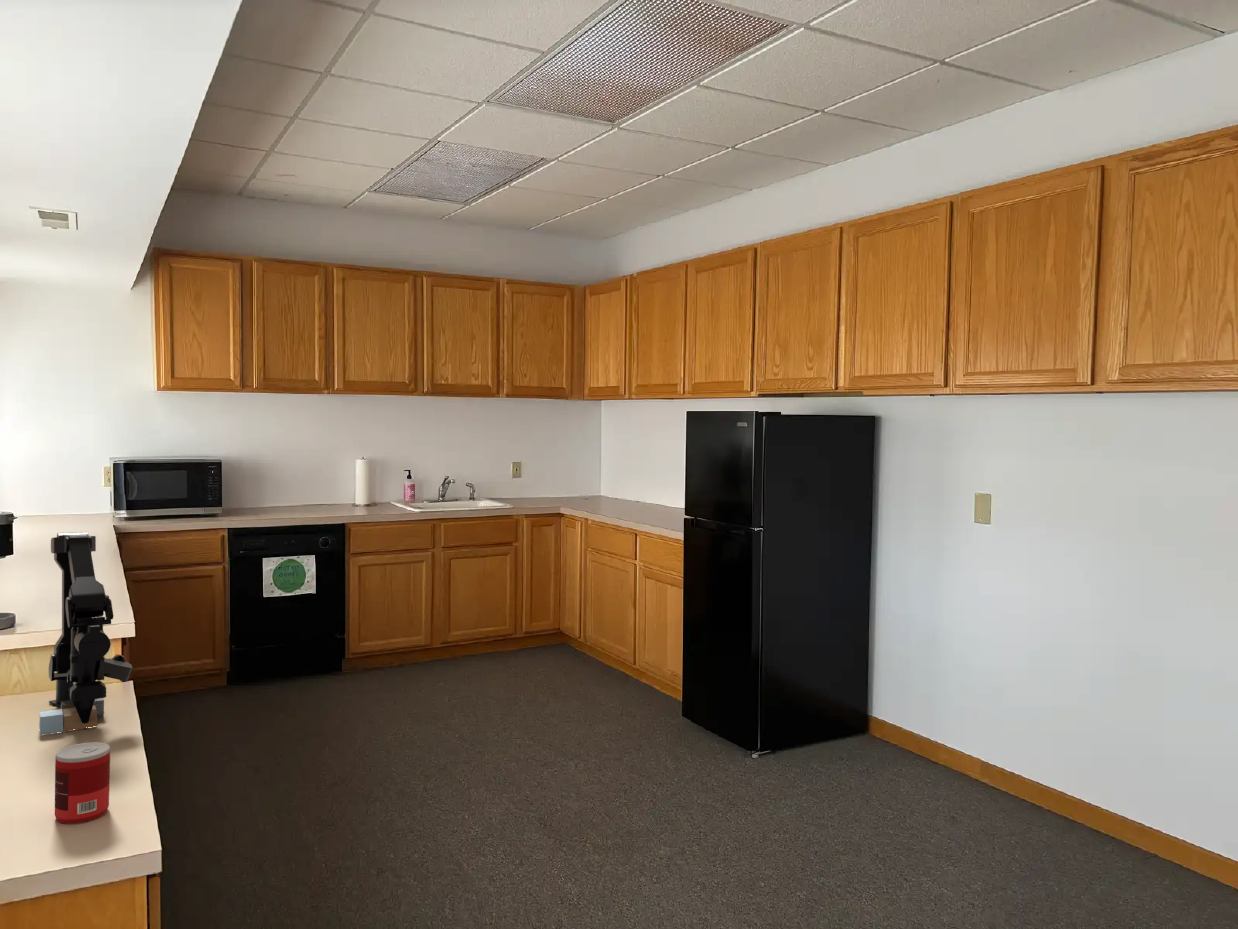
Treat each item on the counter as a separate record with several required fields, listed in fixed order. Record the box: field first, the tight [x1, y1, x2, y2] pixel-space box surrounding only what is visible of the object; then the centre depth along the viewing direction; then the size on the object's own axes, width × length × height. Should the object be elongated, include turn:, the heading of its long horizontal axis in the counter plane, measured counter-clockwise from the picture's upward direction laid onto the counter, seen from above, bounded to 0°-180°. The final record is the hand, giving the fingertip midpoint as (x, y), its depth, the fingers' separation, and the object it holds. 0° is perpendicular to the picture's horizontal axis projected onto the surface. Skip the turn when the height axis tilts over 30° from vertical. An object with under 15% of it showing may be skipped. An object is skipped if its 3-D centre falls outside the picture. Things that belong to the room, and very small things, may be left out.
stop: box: [60, 698, 105, 719], centre depth 196 cm, size 3×8×4 cm, turn 124°
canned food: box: [54, 741, 111, 825], centre depth 149 cm, size 8×8×11 cm
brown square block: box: [63, 705, 98, 732], centre depth 192 cm, size 6×6×4 cm
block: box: [38, 708, 64, 736], centre depth 188 cm, size 4×4×4 cm
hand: (85, 722), depth 189 cm, fingers closed
